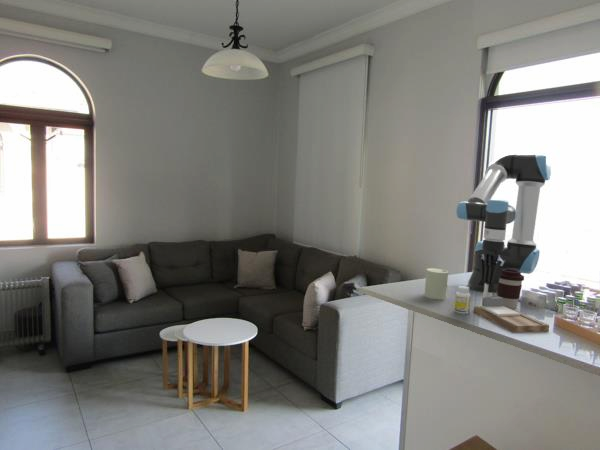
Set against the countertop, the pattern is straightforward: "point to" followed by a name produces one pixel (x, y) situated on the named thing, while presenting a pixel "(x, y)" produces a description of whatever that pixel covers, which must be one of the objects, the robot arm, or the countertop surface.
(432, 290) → the can
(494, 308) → the lid
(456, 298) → the supplement bottle
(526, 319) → the board
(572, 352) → the countertop surface
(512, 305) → the coffee cup
